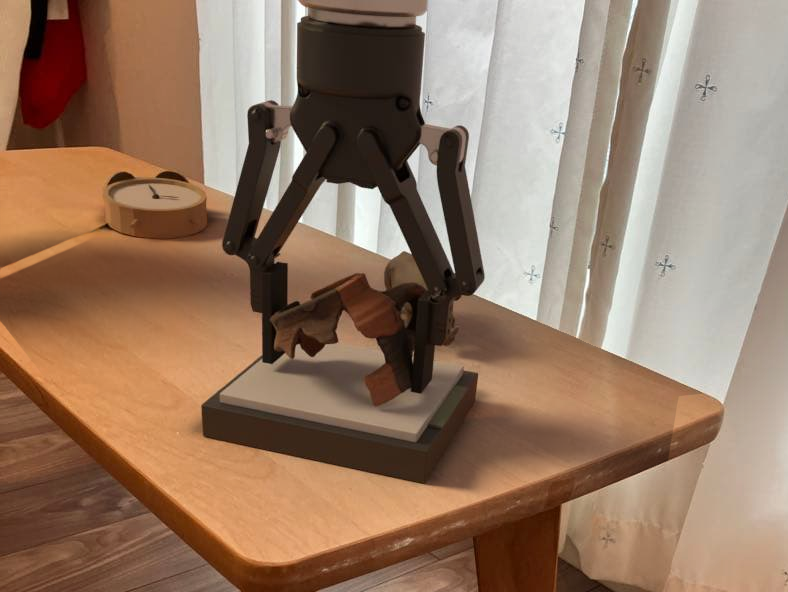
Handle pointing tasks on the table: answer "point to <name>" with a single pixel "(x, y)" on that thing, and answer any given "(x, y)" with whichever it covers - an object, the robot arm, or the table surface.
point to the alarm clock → (154, 205)
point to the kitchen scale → (341, 412)
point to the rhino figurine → (407, 272)
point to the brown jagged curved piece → (370, 316)
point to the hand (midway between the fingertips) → (346, 371)
